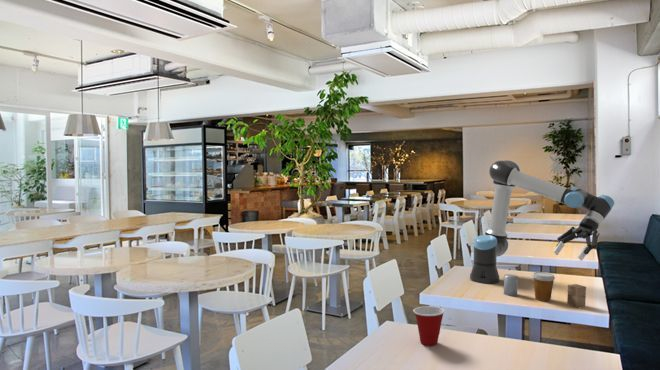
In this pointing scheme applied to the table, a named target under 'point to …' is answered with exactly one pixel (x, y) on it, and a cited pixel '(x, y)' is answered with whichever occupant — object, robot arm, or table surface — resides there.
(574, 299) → the walnut block
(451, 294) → the table surface
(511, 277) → the grey rounded cylinder
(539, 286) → the disposable coffee cup
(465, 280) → the table surface
